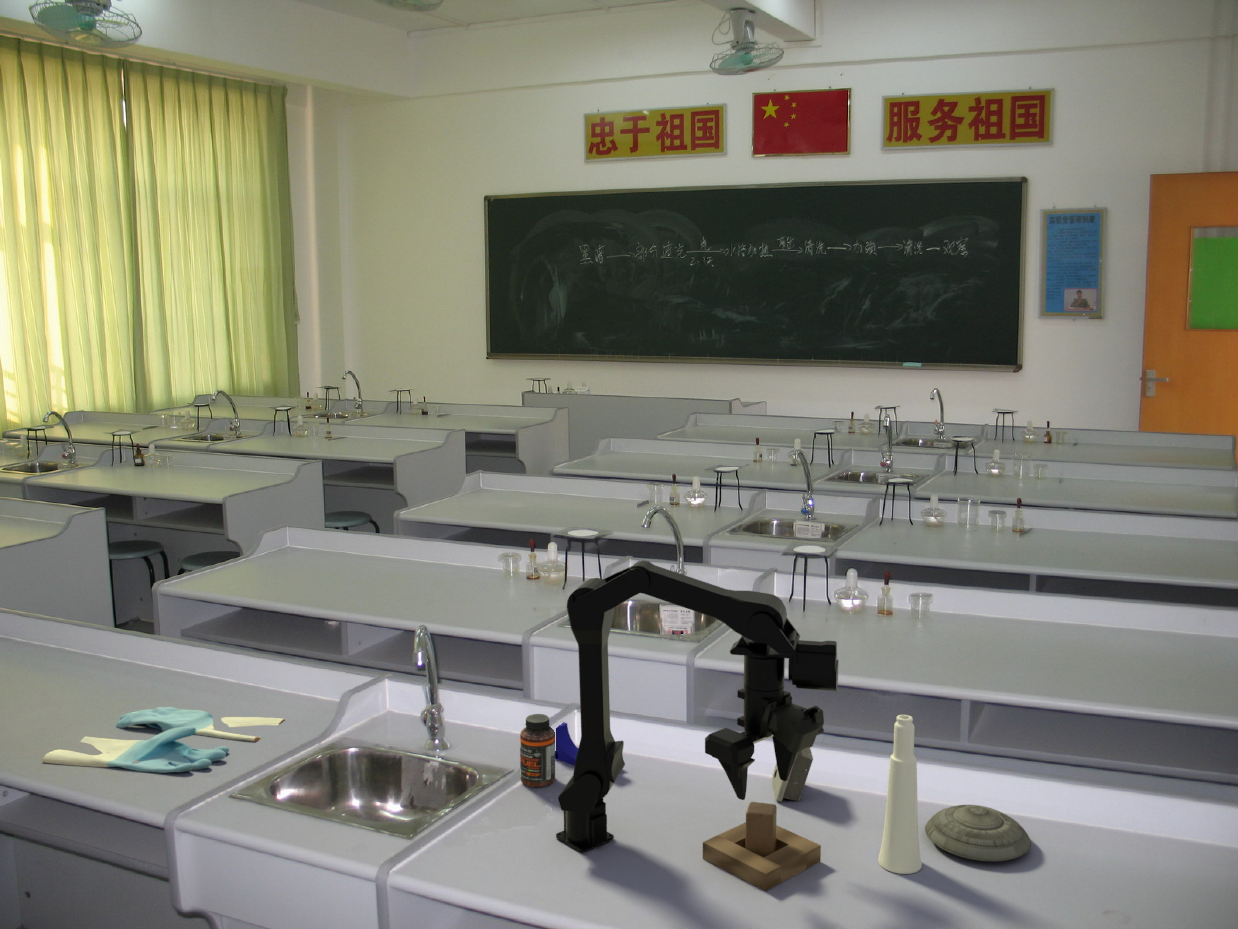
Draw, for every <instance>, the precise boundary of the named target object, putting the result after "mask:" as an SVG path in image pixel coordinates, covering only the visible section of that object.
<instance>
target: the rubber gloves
mask: <svg viewBox="0 0 1238 929" xmlns="http://www.w3.org/2000/svg"><path fill="white" fill-rule="evenodd" d="M213 717H214V716H213V714H212V713H210V712H207V711H205V710H198V709H181V708H177V707H174V706H158V707H155V708H154V709H150V708H149V709H142V710H141V709H140V710H136V711H133V712H129V713H125V714H123V715H121V716H120V717H119V721H118V722H117V723H116V728H119V729H125V728H127V727H131V726H134V725H143V724H145V726H148V727H150V728H153V729H157V730H160V731H162V732H160V733H158V734H156V735H154V736H152V737H151V738H150V739H147V740H146V739H129V740H128V739H116V738H103V737H94V736H93V737H92V736H83V738H82V739H80V743H85V744H89V745H92V746H93V747H94V748H95V749H96V750H98V751H100V752H101V753H100V754H93V755H91V754H88V753H82V752H80V751H79V752H78V751H73V750H66V749H55V750H51V751H50V752H47V753H46V754H45V755H44V756H43V758H42V759H41V761H42V763H45V764H46V763H47V764H52V765H53V764H55V765H63V766H64V765H65V766H75V767H93V768H94V767H95V768H109V767H110V768H112V767H115V768H116V767H119V768H123V769H128V770H131V771H136V772H146V773H147V772H148V773H150V772H151V773H158V774H159V773H161V774H162V773H163V774H164V773H184V772H188V771H196V770H197V771H198V770H204V769H209V767H211V766H212V763H213V762H216V761H220V760H224V759H225V758H226V757H227V754H228V753H229V752H230V748H229V747H228V746H225V745H221V746H218V747H216V748H211V749H207V748H206V749H202V748H193V747H191V745H188V744H187V743H184V742H180V741H178V740H181V739H184V738H188V737H191V736H193V735H197V736H205V737H212V738H220V739H226V740H235V741H245V742H251V743H255V742H257V741H259V740H260V739H261V738H263V737H262V736H254V735H247V734H246V735H245V734H238V733H231V732H226V731H220V730H216V729H215V727H214V724H215V722H214V719H213ZM220 719H221V722H222V723H224V724H225V725H227V726H228V728H240V727H252V726H254V727H255V726H279V725H280V724H281V723H283V722H284V721H285V720H286V719H285V718H279V717H262V716H246V717H245V716H224V717H220ZM135 761H139V762H138V763H133V762H135Z"/></svg>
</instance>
